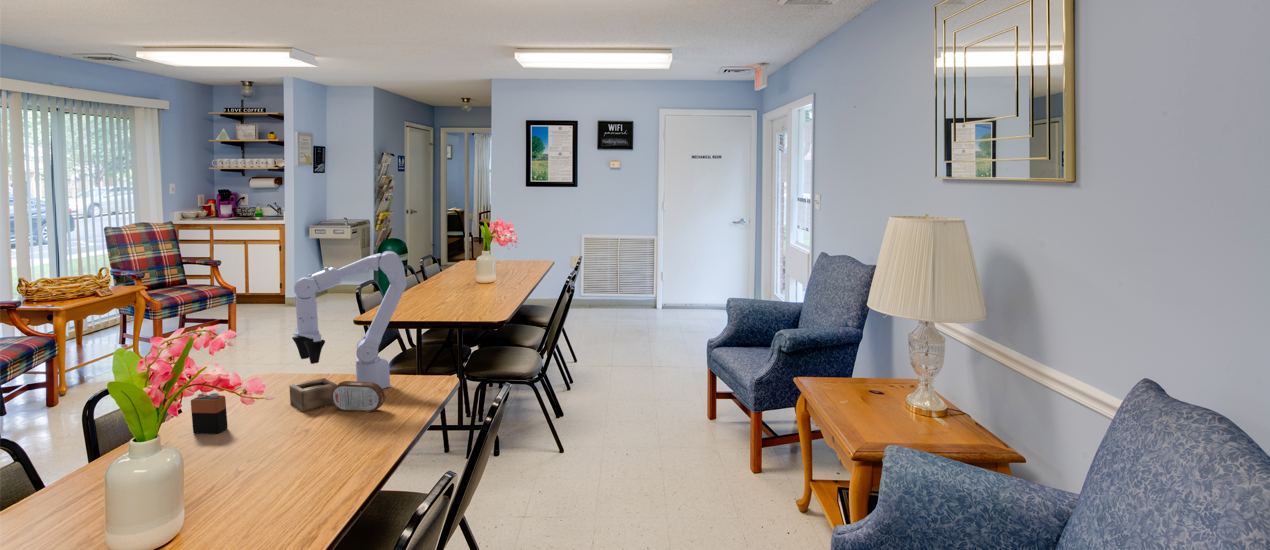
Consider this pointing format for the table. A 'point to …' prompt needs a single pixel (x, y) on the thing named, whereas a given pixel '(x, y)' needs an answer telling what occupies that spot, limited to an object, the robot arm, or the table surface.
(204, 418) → the battery
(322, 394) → the coin box
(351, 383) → the tin
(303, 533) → the table surface
